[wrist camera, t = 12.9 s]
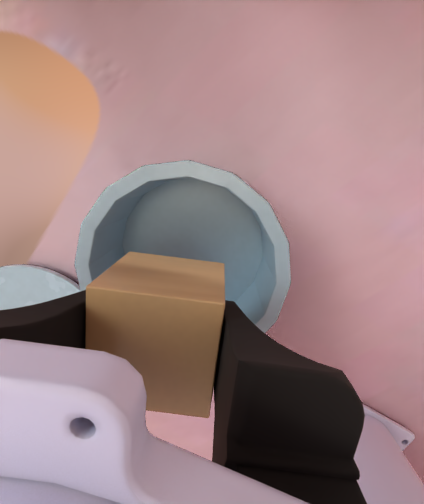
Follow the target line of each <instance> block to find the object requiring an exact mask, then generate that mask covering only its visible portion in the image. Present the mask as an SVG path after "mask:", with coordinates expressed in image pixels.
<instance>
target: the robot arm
mask: <svg viewBox="0 0 424 504" xmlns="http://www.w3.org/2000/svg"><path fill="white" fill-rule="evenodd" d="M85 338H86V290H83V291H80V292H77V293H74V294H71V295H68V296H64V297H61V298H57V299H54V300H50V301H47V302H43V303H39V304H34V305H29V306H24V307H19V308H13V309H6V310H0V504H424V484H423V482H422V481H421V479H420V478H419V476H418V475H417V473H416V472H415V470H414V469H413V467H412V465H411V464H410V462H409V461H408V459H407V458H406V456H405V455H404V453H403V452H402V451H403V450H404V449H405V448H406V447H407V446H408V445H409V444H410V443H411V442H412V441H413V440H414V438H415V436H414V434H413V433H412V432H411V431H410V430H409V429H407V428H405V427H403V426H401V425H400V424H398V423H396V422H394V421H393V420H391V419H389V418H387V417H386V416H384V415H382V414H380V413H378V412H377V411H375V410H373V409H371V408H370V407H368V406H366V405H364V404H363V403H362V402H361V400H360V399H359V397H358V395H357V393H356V391H355V390H354V388H353V386H352V385H351V383H350V382H349V380H348V379H347V377H346V375H345V374H344V373H343V371H341V370H338V369H335V368H332V367H329V366H326V365H323V364H320V363H317V362H315V361H312V360H310V359H308V358H305V357H303V356H301V355H299V354H297V353H295V352H293V351H291V350H289V349H287V348H286V347H284V346H282V345H281V344H279V343H277V342H276V341H274V340H273V339H272V338H270V337H269V336H268V335H266V334H265V333H264V332H262V331H261V330H260V329H259V328H258V327H257V326H256V325H255V324H254V323H253V322H252V321H251V320H250V319H249V318H248V317H247V316H246V315H245V314H244V313H243V311H242V310H241V309H240V308H239V307H238V305H237V304H236V303H235V302H234V301H228V300H225V310H224V317H223V324H222V331H221V338H220V345H219V352H218V359H217V366H216V373H215V380H214V401H215V422H214V440H213V457H212V461H210V460H208V459H205V458H203V457H201V456H198V455H196V454H194V453H191V452H189V451H187V450H185V449H182V448H180V447H178V446H175V445H173V444H171V443H168V442H166V441H164V440H162V439H159V438H157V437H155V436H153V435H152V434H151V433H150V432H149V431H148V429H147V427H146V420H145V413H146V400H147V395H146V390H145V386H144V382H143V378H142V375H141V374H140V373H139V372H138V371H137V370H136V369H135V368H134V367H133V366H132V365H131V364H130V363H129V362H128V361H127V360H126V359H123V358H121V357H118V356H115V355H112V354H110V353H107V352H104V351H97V350H89V349H85Z"/></svg>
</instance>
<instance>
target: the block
mask: <svg viewBox="0 0 424 504" xmlns="http://www.w3.org/2000/svg"><path fill="white" fill-rule="evenodd" d="M224 310H225V264H224V263H218V262H210V261H202V260H194V259H186V258H178V257H170V256H162V255H154V254H146V253H138V252H128V253H127V254H126V255H124V256H123V257H122V258H121V259H119V260H118V261H117V262H116V263H115V264H113V265H112V266H111V267H110V268H108V269H107V270H106V271H105V272H103V273H102V274H101V275H100V276H98V277H97V278H96V279H95V280H93V281H92V282H91V283H90V284H88V285H87V286H86V338H85V349H89V350H97V351H104V352H107V353H110V354H112V355H115V356H118V357H121V358H123V359H126V360H127V361H128V362H129V363H130V364H131V365H132V366H133V367H134V368H135V369H136V370H137V371H138V372H139V373H140V374H141V375H142V378H143V382H144V386H145V390H146V395H147V400H146V410H148V411H156V412H164V413H172V414H179V415H187V416H195V417H203V418H209V415H210V408H211V401H212V394H213V387H214V380H215V373H216V366H217V359H218V352H219V345H220V338H221V331H222V324H223V317H224Z"/></svg>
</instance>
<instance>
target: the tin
mask: <svg viewBox="0 0 424 504" xmlns="http://www.w3.org/2000/svg"><path fill="white" fill-rule="evenodd" d="M128 252H138V253H146V254H154V255H162V256H170V257H178V258H186V259H194V260H202V261H210V262H218V263H224V264H225V300H228V301H234V302H235V303H236V304H237V305H238V307H239V308H240V309H241V310H242V311H243V313H244V314H245V315H246V316H247V317H248V318H249V319H250V320H251V321H252V322H253V323H254V324H255V325H256V326H257V327H258V328H259V329H260V330H261V331H262V332H264V333H266V332H267V331H268V330H269V329H270V327H271V326H272V325H273V324H274V323H275V322H276V320H277V319H278V316H279V314H280V311H281V308H282V306H283V303H284V300H285V298H286V295H287V293H288V290H289V287H290V284H291V272H290V252H289V242H288V239H287V237H286V235H285V233H284V231H283V229H282V227H281V225H280V223H279V221H278V219H277V217H276V215H275V213H274V211H273V209H272V207H271V205H270V204H269V203H268V201H267V200H265V199H264V198H263V197H262V196H261V195H259V194H258V193H257V192H256V191H255V190H253V189H252V188H251V187H250V186H249V185H247V184H246V183H245V182H244V181H243V180H241V179H240V178H239V177H238V176H237V175H235V174H233V173H231V172H228V171H225V170H221V169H218V168H215V167H211V166H208V165H205V164H201V163H198V162H194V161H191V160H184V161H176V162H167V163H159V164H151V165H144V166H141V167H140V168H138V169H136V170H135V171H133V172H131V173H130V174H128V175H126V176H125V177H123V178H121V179H120V180H118V181H116V182H115V183H113V184H112V185H110V186H108V187H107V188H106V189H105V190H104V191H103V192H102V194H101V195H100V197H99V198H98V200H97V201H96V203H95V204H94V206H93V207H92V209H91V210H90V211H89V213H88V214H87V216H86V217H85V219H84V220H83V222H82V224H81V229H80V234H79V240H78V246H77V252H76V258H75V269H76V273H77V277H78V281H79V286H80V290H81V291H83V290H86V286H87V285H88V284H90V283H91V282H92V281H93V280H95V279H96V278H97V277H98V276H100V275H101V274H102V273H103V272H105V271H106V270H107V269H108V268H110V267H111V266H112V265H113V264H115V263H116V262H117V261H118V260H119V259H121V258H122V257H123V256H124V255H126V254H127V253H128Z"/></svg>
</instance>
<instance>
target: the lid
mask: <svg viewBox="0 0 424 504" xmlns="http://www.w3.org/2000/svg"><path fill="white" fill-rule="evenodd" d="M80 291H81V290H80V286H79V285H78V284H77V283H76V282H74V281H72V280H71V279H69V278H68V277H66V276H64V275H62V274H60V273H58V272H56V271H53V270H50V269H47V268H44V267H39V266H34V265H25V264H18V265H7V266H1V267H0V310H6V309H13V308H19V307H24V306H29V305H34V304H39V303H43V302H47V301H50V300H54V299H57V298H61V297H64V296H68V295H71V294H74V293H77V292H80Z"/></svg>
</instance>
